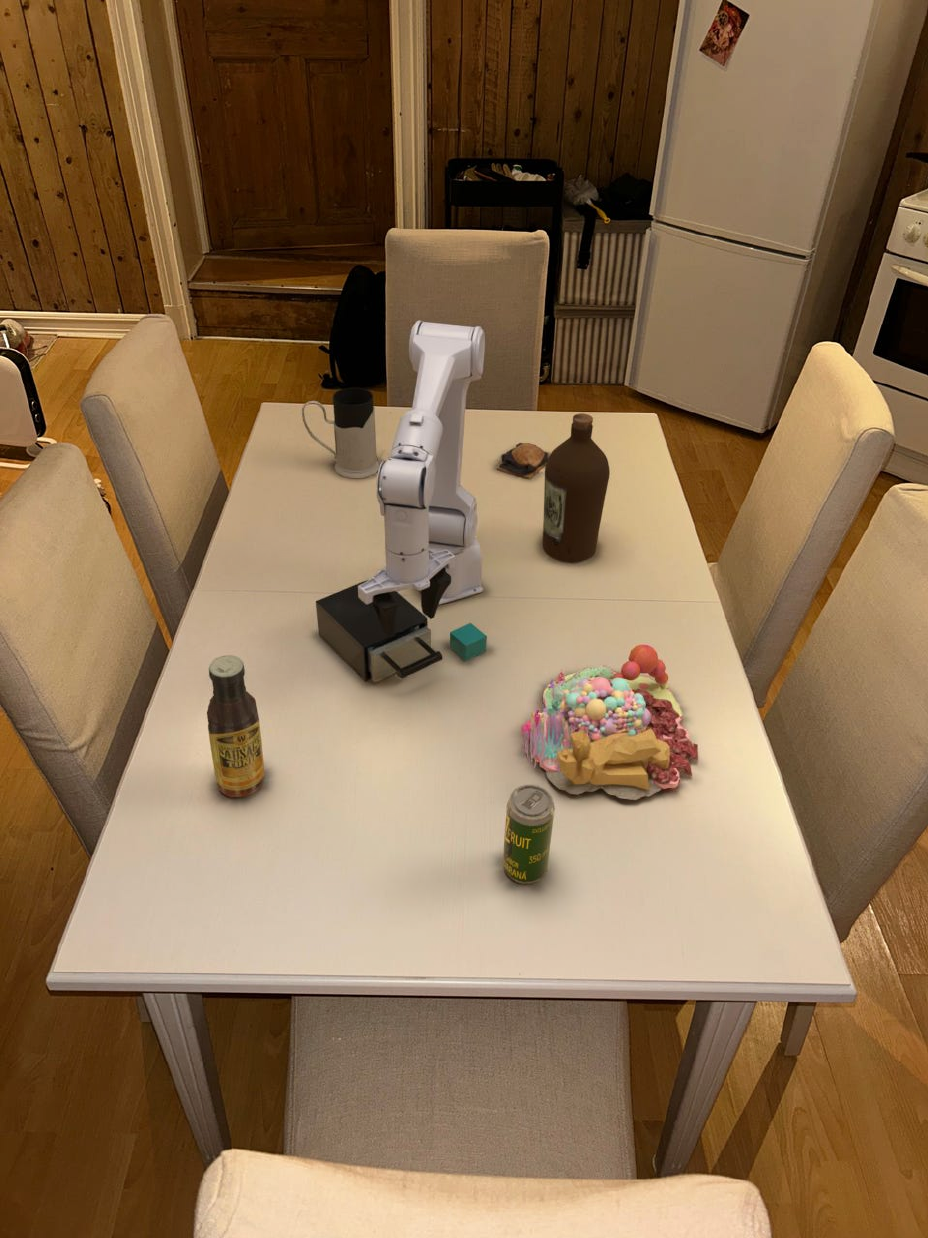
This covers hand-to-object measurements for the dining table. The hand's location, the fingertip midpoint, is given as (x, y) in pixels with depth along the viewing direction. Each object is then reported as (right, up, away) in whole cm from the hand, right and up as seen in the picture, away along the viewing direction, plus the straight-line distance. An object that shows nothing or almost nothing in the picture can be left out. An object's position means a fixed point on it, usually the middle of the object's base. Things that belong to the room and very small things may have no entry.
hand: (408, 623), depth 134 cm
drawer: (-3, -5, +9) cm, 11 cm away
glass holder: (-16, +30, +54) cm, 64 cm away
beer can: (+15, -29, -19) cm, 38 cm away
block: (+8, -4, +12) cm, 15 cm away
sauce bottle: (-21, -21, -9) cm, 31 cm away
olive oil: (+26, +13, +34) cm, 45 cm away
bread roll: (+20, +32, +57) cm, 68 cm away
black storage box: (-6, -3, +12) cm, 14 cm away
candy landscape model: (+27, -16, -2) cm, 31 cm away
